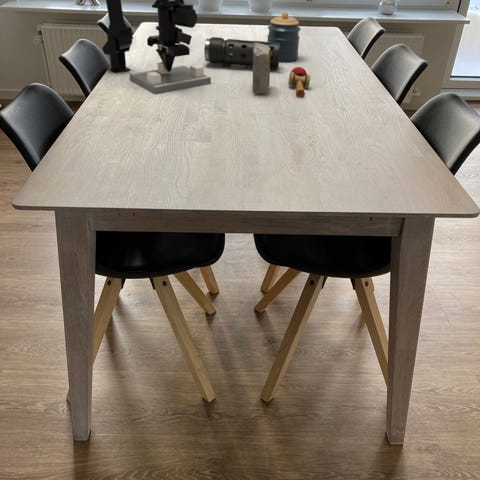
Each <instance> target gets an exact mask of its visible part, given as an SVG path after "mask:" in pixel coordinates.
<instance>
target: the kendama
mask: <svg viewBox="0 0 480 480" xmlns="http://www.w3.org/2000/svg"><path fill="white" fill-rule="evenodd" d="M310 82H311V74H308V73H307V71H306V69H305V68H303V66H302V67H301V66H296V67H294V68H292V70H291V71H290V72H289V77H288V84H287V85H289V86H293V85H296V88H295V94H296V97H297V98H304V97H305V95H306V92H305V90H307V89H308V88H309V86H310Z"/></svg>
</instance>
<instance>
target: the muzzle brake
mask: <svg viewBox="0 0 480 480" xmlns="http://www.w3.org/2000/svg"><path fill="white" fill-rule="evenodd" d="M255 42H257V43H259V44H264V45H265V46H268V47H269V48H270V49H271V51H272V55H271V57H270V70H272V71H273V70H274V71H275V70H278V69H279V65H280V62H279V60H280V47H281V44H280V43H279V42H267V41H262V40H246V39H234V38H233V39H232V38H227V39H224V38H223V37H216V36H213V37H210V38H206V39H205V41H204V47H203V48H204V49H203V50H204V51H203V53H204V54H203V55H204V57H203V58H204V60H205V62H208V63H210V64H211V65H213V64H214V65H215V64H216V65H221V67H227V68H230V67H232V66H243V67H245V68H247V69H248V68H253V51H254V43H255Z"/></svg>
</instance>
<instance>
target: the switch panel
mask: <svg viewBox="0 0 480 480" xmlns="http://www.w3.org/2000/svg"><path fill="white" fill-rule="evenodd" d="M204 70H205V69H204V66H202V65H199V64H192V65H189V67H188V66H186V65H184V64H182V65H177V66H172V69H171V73H169V74H162V73H160V72H158V69H152V70H147V71H141V72H134V73H133V72H132V73H129V80H130V81H131V82H132V83H136V85H138V86H140V87H143V88H144V89H146V90H147V91H149V92H151V93H152V94H154V95H157V94H163V93H168V92H174V91H179V90H183V89H184V90H185V89H189V88H195V87H200V86H205V85H210V84H212V78H211V76H208V75H206V74H204V73H205V72H204Z"/></svg>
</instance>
